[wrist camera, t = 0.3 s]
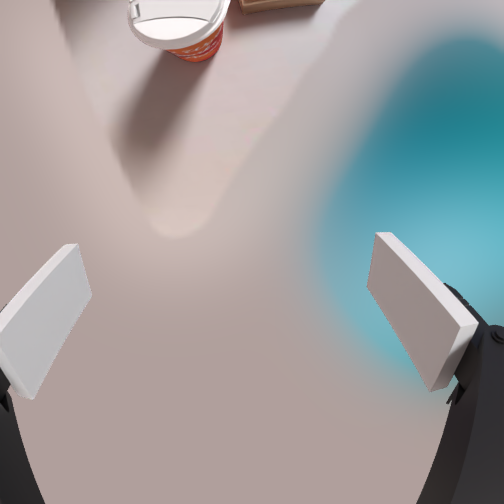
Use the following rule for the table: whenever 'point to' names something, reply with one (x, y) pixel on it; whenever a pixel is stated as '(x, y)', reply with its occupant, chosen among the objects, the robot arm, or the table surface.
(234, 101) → the table surface
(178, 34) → the coffee cup
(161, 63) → the table surface
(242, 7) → the plinth
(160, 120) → the table surface
